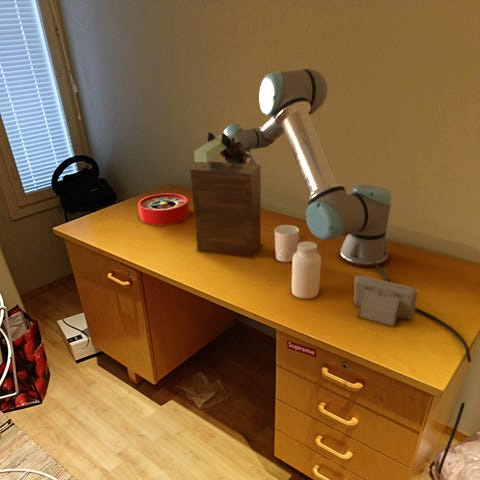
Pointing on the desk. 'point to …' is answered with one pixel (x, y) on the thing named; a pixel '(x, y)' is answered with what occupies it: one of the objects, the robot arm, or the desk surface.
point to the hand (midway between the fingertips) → (215, 137)
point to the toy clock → (163, 209)
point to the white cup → (286, 242)
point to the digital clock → (384, 300)
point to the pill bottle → (306, 270)
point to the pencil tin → (210, 150)
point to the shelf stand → (227, 208)
